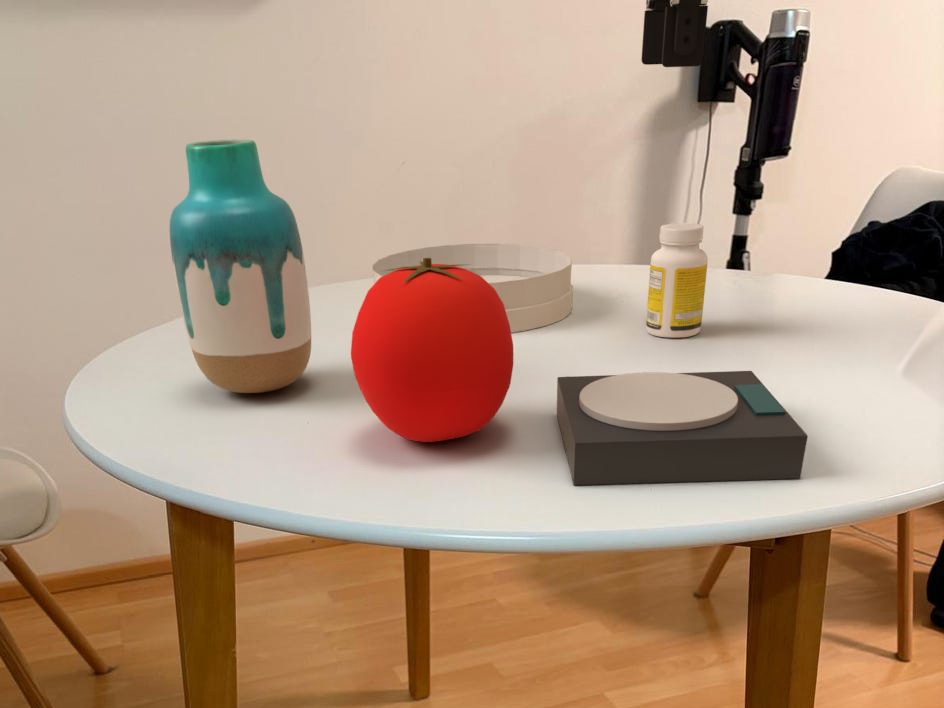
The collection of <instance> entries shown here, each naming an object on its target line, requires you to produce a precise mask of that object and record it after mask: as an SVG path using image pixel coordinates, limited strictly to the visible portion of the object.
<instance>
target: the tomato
mask: <svg viewBox="0 0 944 708" xmlns="http://www.w3.org/2000/svg"><path fill="white" fill-rule="evenodd" d="M420 263H421V265H419V266H411V267H400V268H395V269H390V270H395V271H393V272H391V273H389V274H387V275H385V276H383V277H381V278H379V279H378V281H377V282H376V283H375V284H374V283H373V285H372V286H371V287H370V288H369V289H368V290H367V292H366V295H365V297H364V299H363V301H362V304H361V306H360V308H359V310H358V313H357V316H356V320H355V323H354V326H353V329H352V333H351V346H350V359H351V364H352V368H353V374H354V377H355V381H356V383H357V385H358V388H359V390H360V392H361V394H362V396H363V398H364V400H365V401H366V403H367V405H368V406H369V408H370V410H371V411H372V413H373V415H375V416H376V417H377V418H378V419H379V420H380V422H381V423H382V424H383V425H384V426H385V427H386V428H387V429H389V431H391V432H393V433H394V434H396V435H398V436H399V437H402V438H404V439H406V440H410V441H415V442H422V443H437V442H441V441H442V442H443V441H447V440H448V441H449V440H453V439H459V438H463V437H466V436H468V435H471V434H474V433H476V432H478V431H480V430H482V429H484V428H485V426H486V425H488V423H490V422H491V421H492V420H493V418H494V417H495V416H496V415H497V413H498V412H499V410H500V409H501V407H502V405H503V403H504V401H505V399H506V396H507V395H508V392H509V389H510V387H511V382H512V376H513V370H514V341H513V336H512V333H511V329H510V324H509V321H508V318H507V314H506V311H505V308H504V304H503V302H502V301H501V299H500V297H499V295H498V294H497V292H496V290H495V289H494V288H493V287H492V286H491V285H490V284H489V283H488V282H487V281H485V280H484V279H483V278H482V277H481V276H479V275H477V274H475V273H473V272H470V271H468V270H466V269H463V268H461V267H457V266H461V265H447V264H431V258H423V262H422V261H420ZM471 265H472V264H471ZM396 269H397V270H396ZM385 271H389V270H385Z"/></svg>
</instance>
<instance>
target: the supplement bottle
mask: <svg viewBox="0 0 944 708" xmlns="http://www.w3.org/2000/svg"><path fill="white" fill-rule="evenodd" d="M703 236H704V225H703V224H700V223H695V222H694V223H693V222H673V223H665V224H662V225H661V226H660V230H659V243H661V246H660V248H659V249H657V250H655V251H654V252H653V253H652V255H651V258H650V264H649V278H648V291H647V292H648V293H647V307H646V321H645V322H646V323H645V326H646V327H645V329H646V331H647V333H648V334H650V335H651V336H655V337H660V338H670V339H672V338H673V339H675V338H677V339H678V338H688V337H692V336H695V335H697V334H699V333H700V331H701V328H702V324H703V323H702V322H703V313H704V302H705V301H704V300H705V291H706V282H707V271H708V259H709V258H708V255H707V253H706V251H704V250H703V249H701V248H700V244H701V243H703V239H704V237H703Z"/></svg>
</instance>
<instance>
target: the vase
mask: <svg viewBox="0 0 944 708" xmlns="http://www.w3.org/2000/svg"><path fill="white" fill-rule="evenodd" d="M258 151H259V150H258V146H257V143H256V141H254V140H253V139H219V140H218V139H216V140H215V139H214V140H202V141H195V142H191V143H187V144H186V145H185V157H186V164H187V173H188V184H189V185H188V191H187V195H186V196H185V198H184V199H183V200H181V201H180V202H179V203H178V204H177V205H176V206H174V208H173V209H172V211H171V213H170V219H169V242H170V252H171V259H172V260H171V262H172V267H173V273H174V278H175V285H176V290H177V295H178V300H179V301H178V302H179V305H180V310H181V314H182V319H183V323H184V327H185V331H186V336H187V338H188V342H189V345H190V348H191V352H192V354H193V358H194V360H195V362H196V364H197V367H198V369H199V370H200V371H201V373H202V374H203V375H204V376H205V378H206V379H207V380H208V381H209V382H210V383H212V384H213V385H215V386H216V387H218V388H219V389H222V390H225V391H229V392H234V393H240V394H261V393H267V392H272V391H276V390H279V389H282V388H285V387H287V386H289V385H291V384H293V383H295V382H296V381H297V380H298V379H299V378H300V377H301V376H302V375H303V374H304V372H305V370H306V369H307V367H308V364H309V361H310V360H311V359H310V358H311V355H312V354H311V353H312V318H311V317H312V315H311V302H310V293H309V286H308V277H307V270H306V262H305V257H304V249H303V245H302V239H301V235H300V230H299V227H298V223H297V219H296V217H295V213H294V211H293V209H292V208H291V206H290V205H289V203H288V202H287V201H286V200H285V199H284V198H282V197H280V196H278V195H277V194H275V193H273V192H272V191H270V189H269V188H268V186H267V184H266V182H265V180H264V175H263V171H262V167H261V162H260V157H259V152H258Z"/></svg>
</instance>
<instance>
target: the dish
mask: <svg viewBox="0 0 944 708" xmlns="http://www.w3.org/2000/svg"><path fill="white" fill-rule="evenodd" d="M423 258H431V264H447V265H461V266H457V267H461V268H463V269H466V270H468V271H470V272H473V273H475V274H477V275H479V276H481V277H482V278H483V279H484V280H485V281H487V282H488V283H489V284H490V285H491V286H492V287H493V288H494V289H495V290H496V292H497V294H498V295H499V297H500V299H501V301H502V302H503V304H504V308H505V311H506V314H507V318H508V321H509V324H510V329H511V334H513V333H520V332H526V331H531V330H534V329H539V328H543V327H547V326H550V325H552V324H554V323H558V322H560V321H563V320H564V319H565V318H567V317H568V316H569V315H570V314H571V313H572V308H573V291H574V290H573V287H574V285H573V284H572V264H573V259H572V257H570V255H568V254H567V253H565V252H562V251H559V250H557V249H552V248H548V247H543V246H538V245H537V246H536V245H530V244H529V245H528V244H516V243H461V244H446V245H438V246H427V247H421V248H416V249H411V250H405V251H401V252H397V253H393V254H389V255H388V256H385V257H382V258H380V259H378V260H377V261H376V262H374V263H373V264H372V273H373V285H374V284H375V283H376V282H377V281H378V279H379V278H381V277H383V276H385V275H387V274H389V273H391V272H393V271H395V270H390V269H395V268H400V267H411V266H419V265H421V263H420V261H422V262H423ZM471 264H472V265H471ZM385 270H389V271H385ZM396 270H397V269H396Z"/></svg>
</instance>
